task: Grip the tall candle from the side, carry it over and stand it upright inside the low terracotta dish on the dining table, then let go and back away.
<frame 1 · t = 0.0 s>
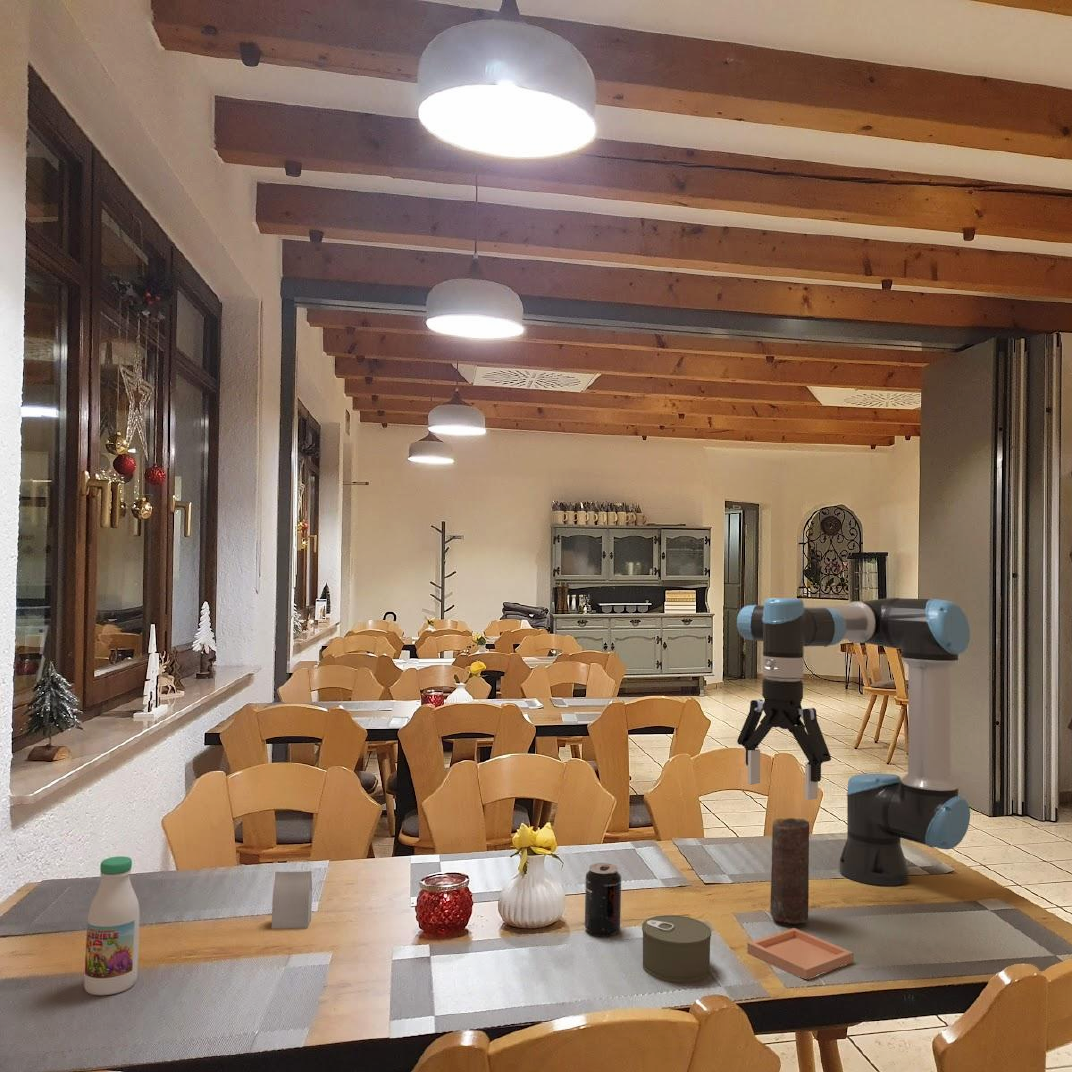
hand: (781, 791, 166), 28 cm above the table, tool pointing down, fingers open, 13 cm apart
gray rectangular block: (291, 925, 167), on the table
milk bottle: (110, 986, 141), on the table
beverage can: (602, 932, 167), on the table
can: (675, 969, 152), on the table
candle: (789, 922, 174), on the table
dish: (799, 957, 158), on the table
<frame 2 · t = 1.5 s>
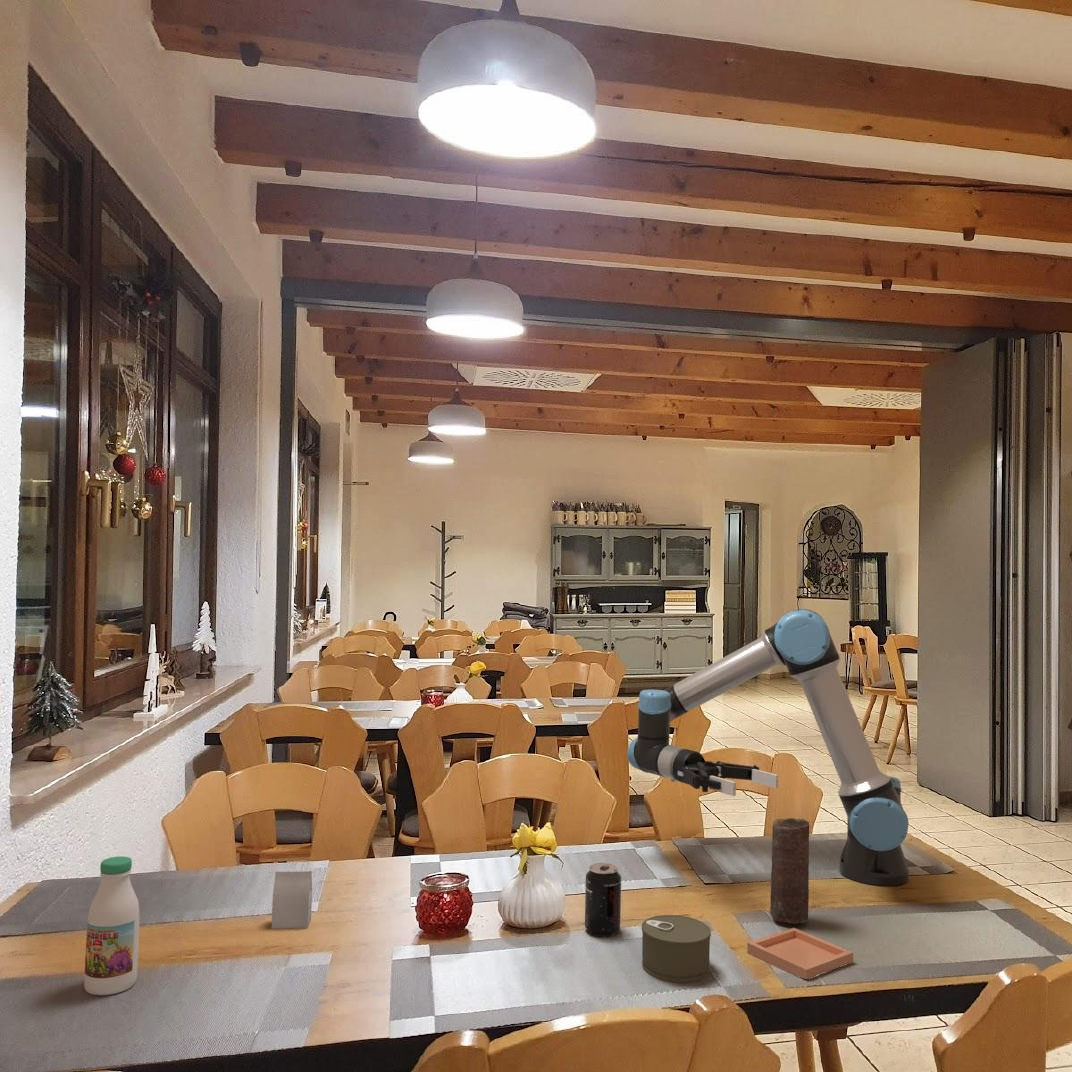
hand: (756, 785, 183), 25 cm above the table, tool horizontal, fingers open, 13 cm apart
nothing on the table moved.
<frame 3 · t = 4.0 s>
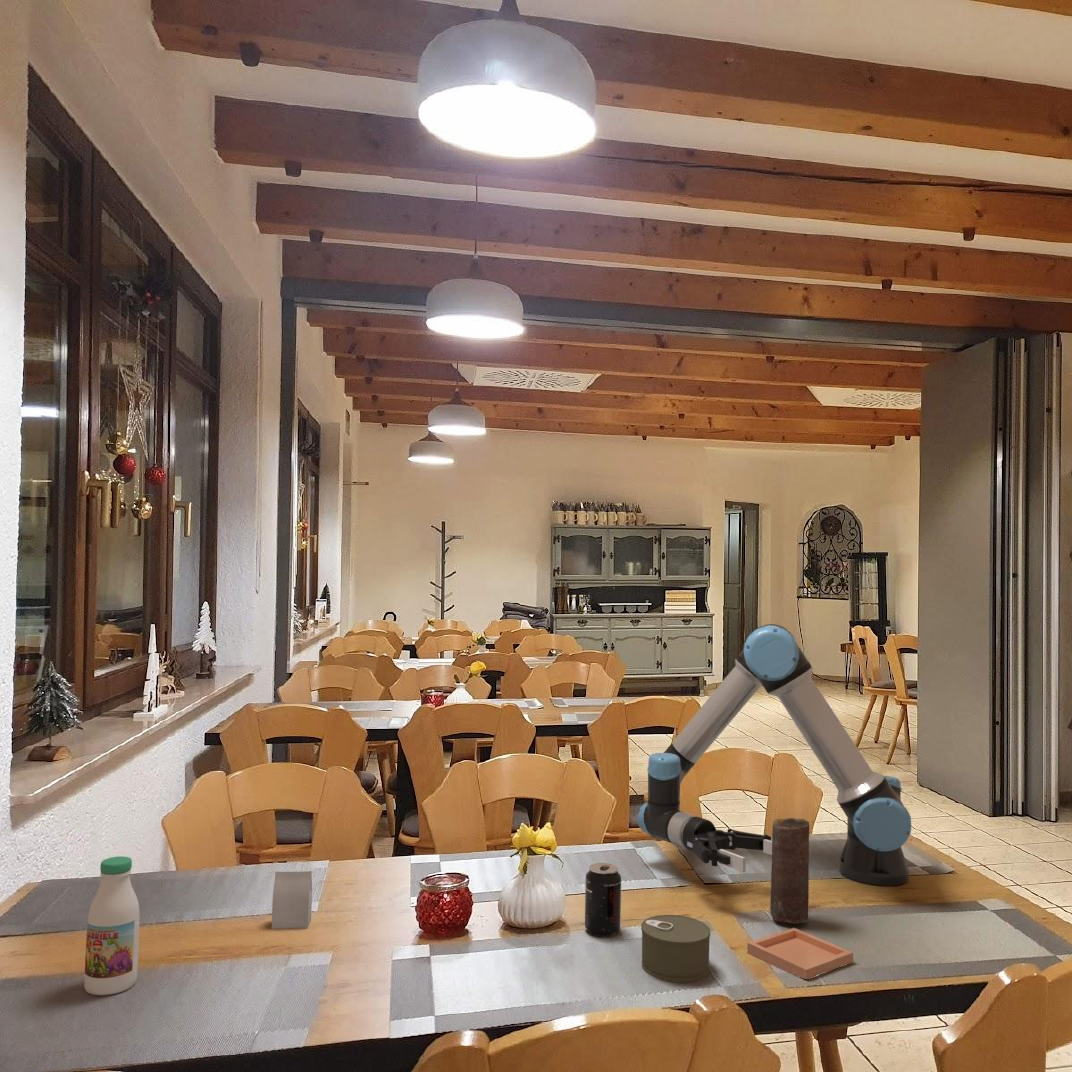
hand: (767, 859, 179), 11 cm above the table, tool horizontal, fingers open, 13 cm apart
nothing on the table moved.
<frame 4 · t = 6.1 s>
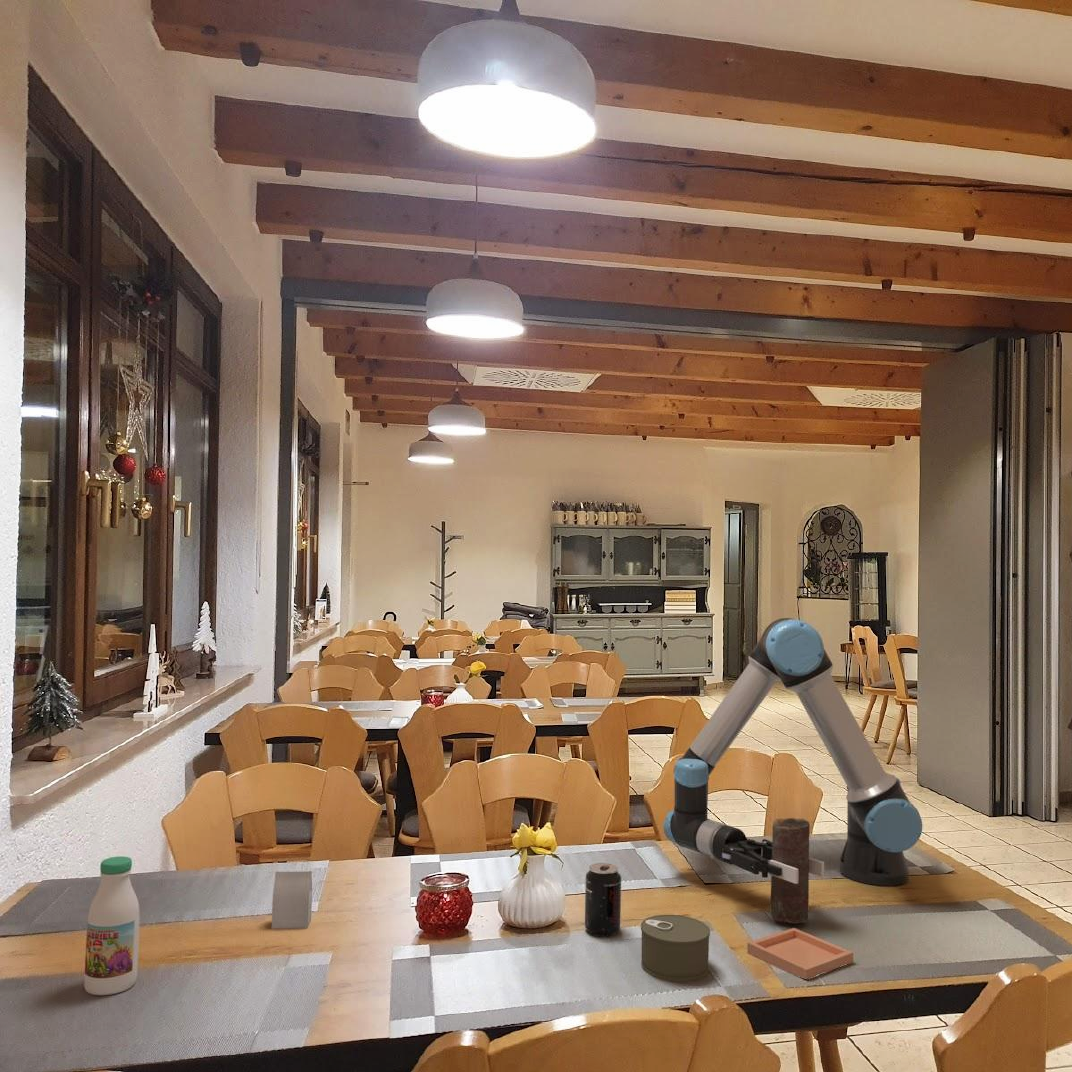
hand: (810, 872, 171), 11 cm above the table, tool horizontal, fingers closed on candle, 7 cm apart
candle: (789, 922, 174), on the table, touching gripper
everything else where it was.
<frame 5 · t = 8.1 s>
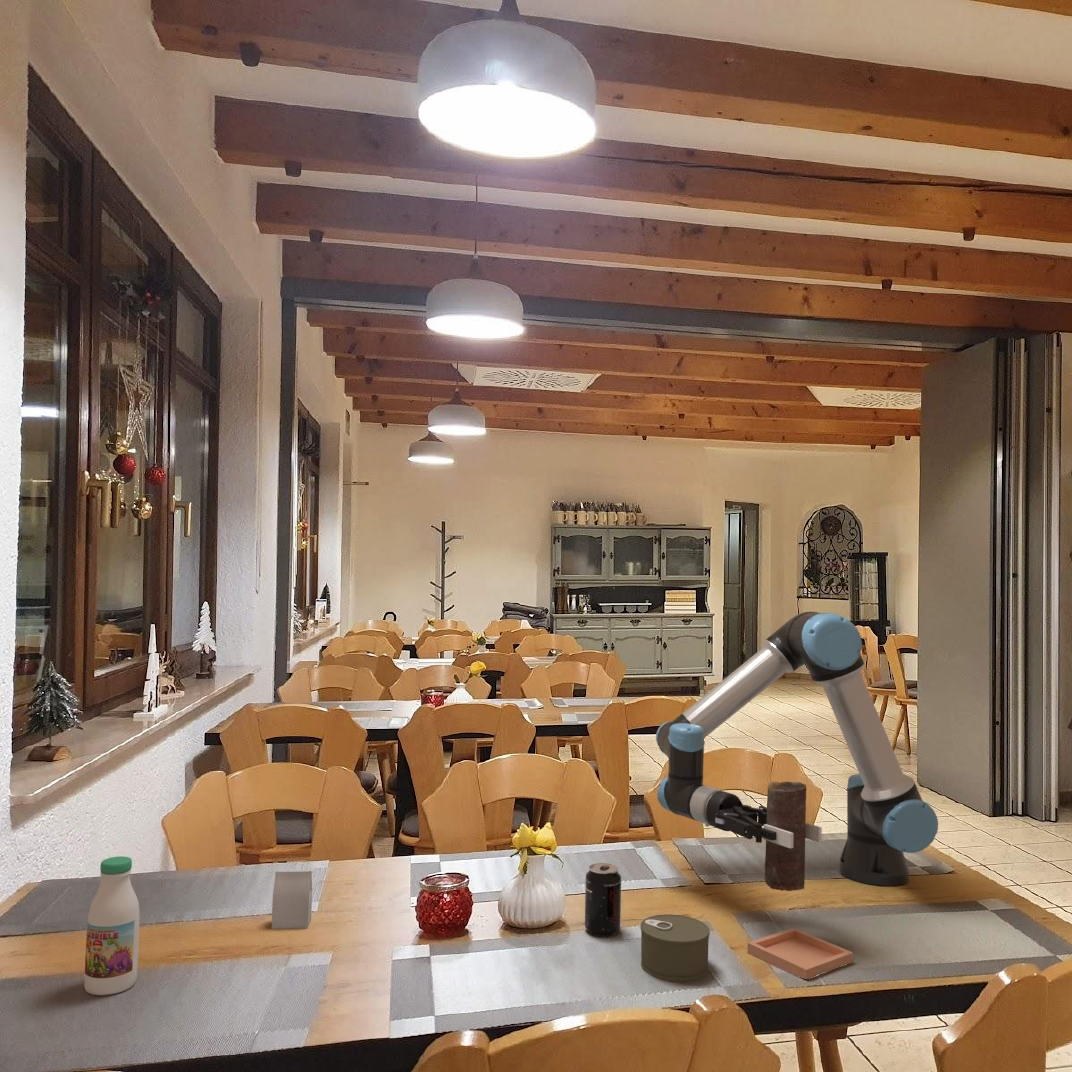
hand: (806, 837, 162), 20 cm above the table, tool horizontal, fingers closed on candle, 7 cm apart
candle: (784, 890, 166), point 9 cm above the table, touching gripper
everything else where it was.
when the fingers open (13 cm above the table, at t = 10.3 s): candle drops 1 cm, resting on dish.
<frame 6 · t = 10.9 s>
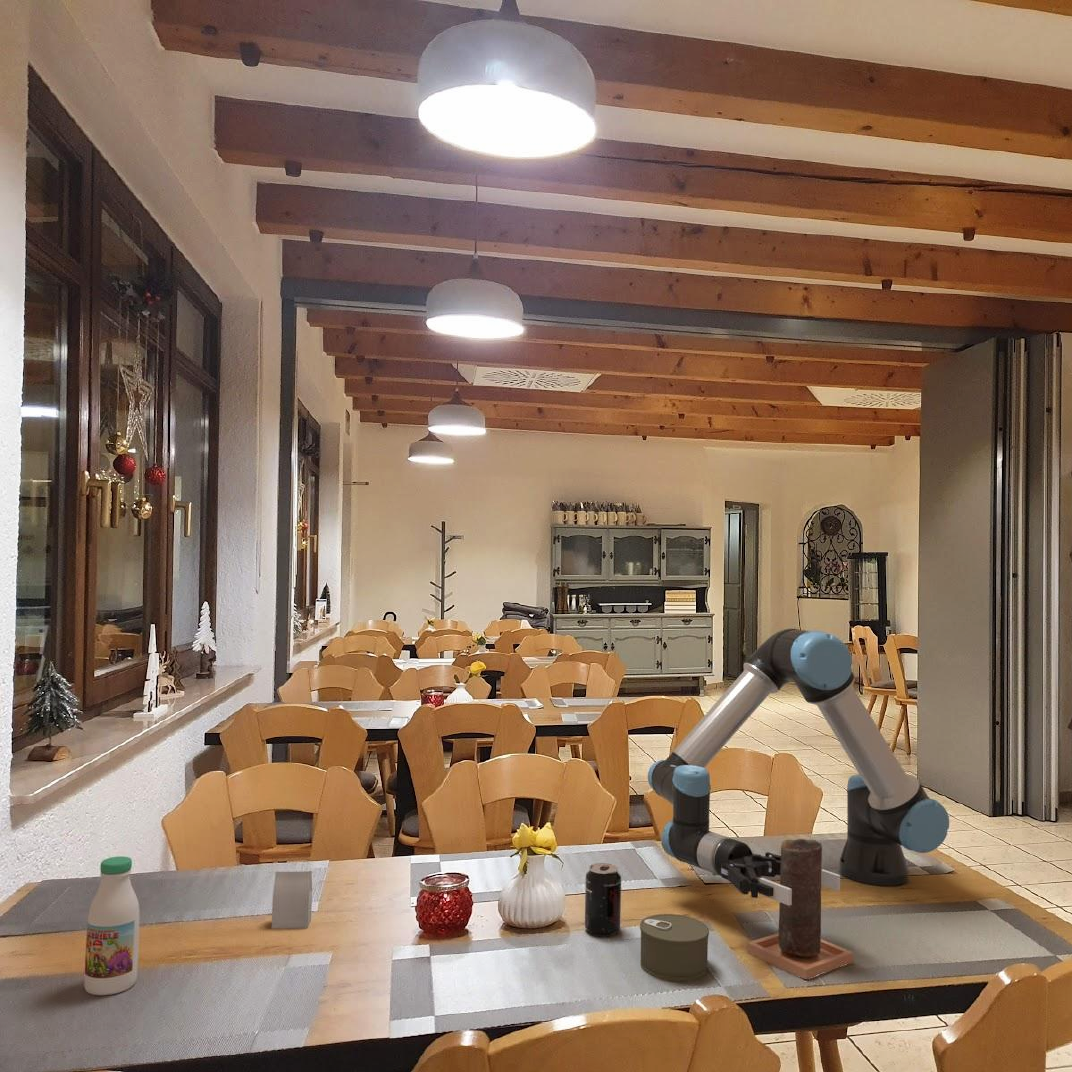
hand: (815, 890, 156), 13 cm above the table, tool horizontal, fingers open, 13 cm apart
candle: (799, 955, 158), resting on dish
everything else where it was.
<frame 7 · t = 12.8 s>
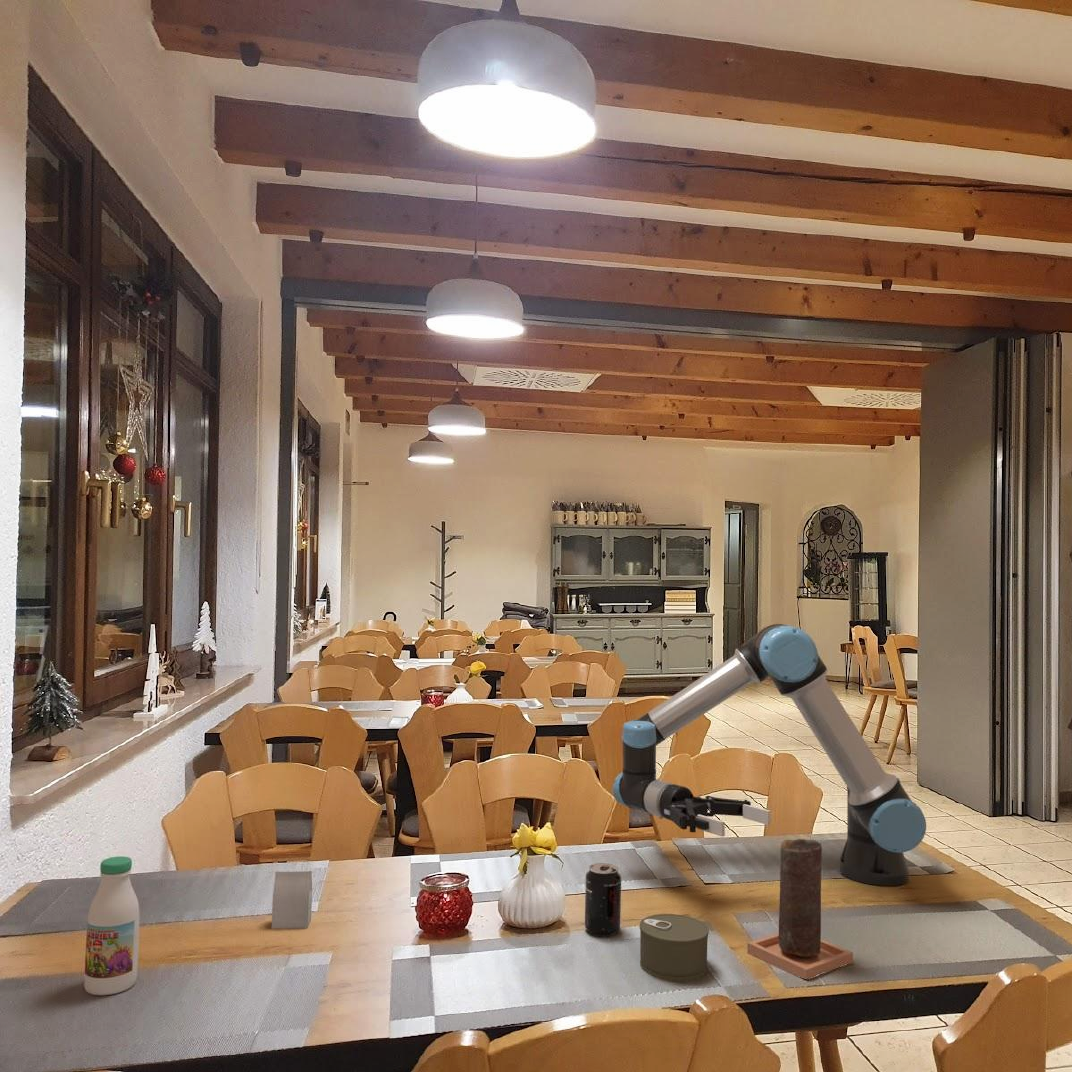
hand: (747, 823, 172), 20 cm above the table, tool horizontal, fingers open, 13 cm apart
nothing on the table moved.
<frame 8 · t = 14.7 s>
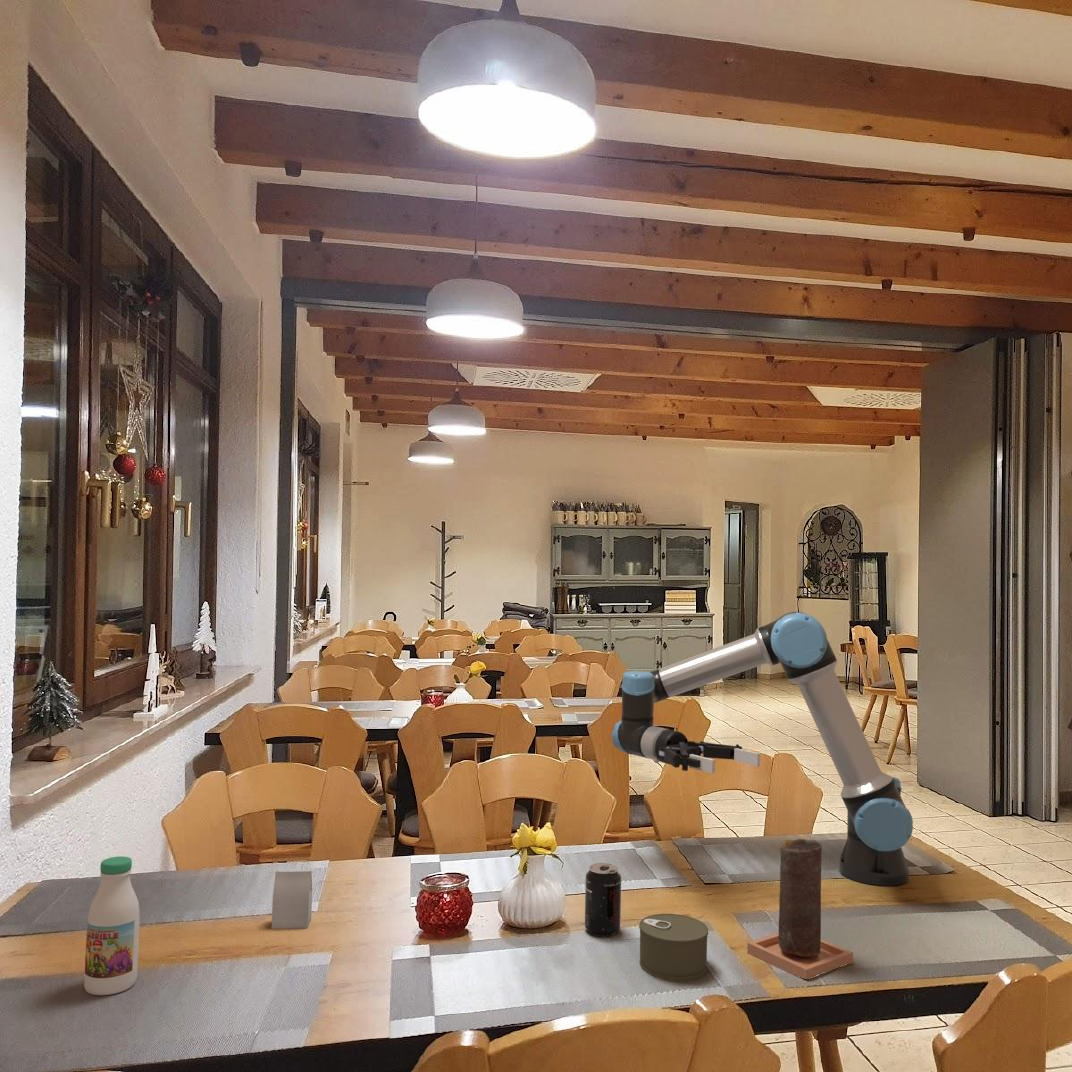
hand: (736, 763, 181), 30 cm above the table, tool horizontal, fingers open, 13 cm apart
nothing on the table moved.
at the end: candle inside the target area on the dish (0.1 cm from its centre), point 0.4 cm above the dish's base; candle tilted 0°; the gripper is holding nothing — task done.
